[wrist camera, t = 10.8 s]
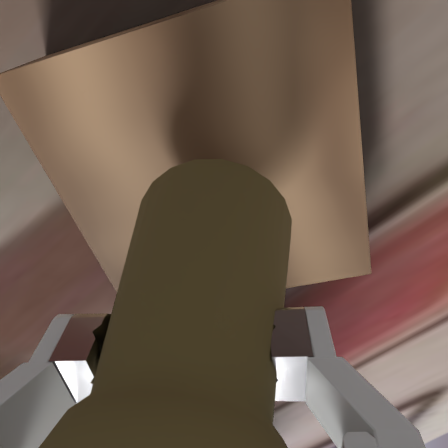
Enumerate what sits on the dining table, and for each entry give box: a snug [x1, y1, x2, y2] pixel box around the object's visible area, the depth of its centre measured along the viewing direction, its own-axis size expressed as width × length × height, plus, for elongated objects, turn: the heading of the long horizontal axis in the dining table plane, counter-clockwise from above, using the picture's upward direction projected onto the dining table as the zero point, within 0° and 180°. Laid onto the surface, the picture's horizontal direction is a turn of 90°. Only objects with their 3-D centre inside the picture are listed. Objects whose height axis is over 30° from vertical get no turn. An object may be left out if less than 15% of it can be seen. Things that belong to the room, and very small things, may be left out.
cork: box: [39, 159, 292, 448], centre depth 10 cm, size 6×6×11 cm
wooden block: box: [0, 0, 371, 292], centre depth 19 cm, size 14×14×5 cm
